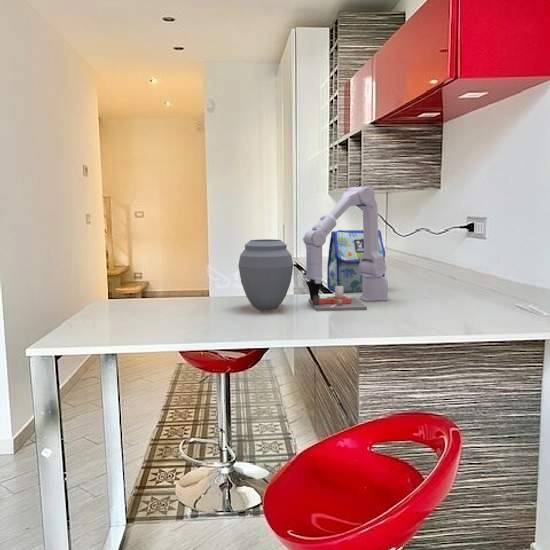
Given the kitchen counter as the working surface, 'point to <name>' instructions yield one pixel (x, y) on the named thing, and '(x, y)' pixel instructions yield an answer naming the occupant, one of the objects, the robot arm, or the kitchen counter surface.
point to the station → (333, 307)
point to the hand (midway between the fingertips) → (314, 300)
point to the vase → (265, 272)
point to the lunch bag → (347, 259)
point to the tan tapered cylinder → (339, 302)
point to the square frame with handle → (330, 300)
